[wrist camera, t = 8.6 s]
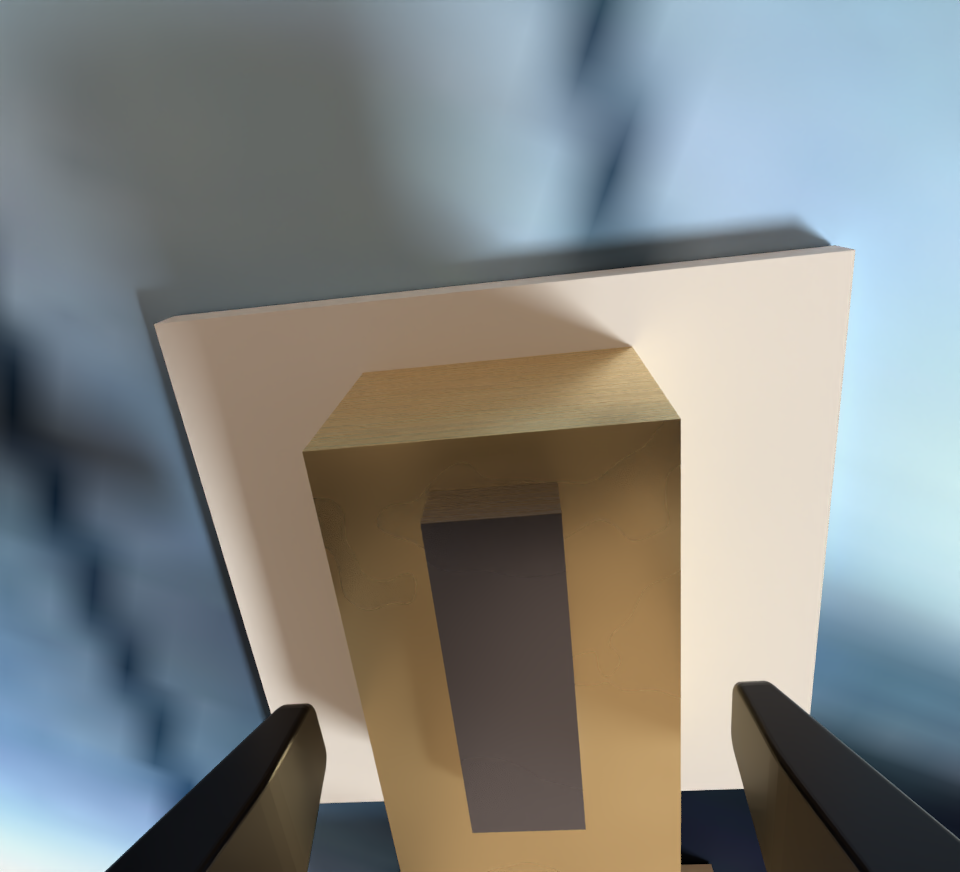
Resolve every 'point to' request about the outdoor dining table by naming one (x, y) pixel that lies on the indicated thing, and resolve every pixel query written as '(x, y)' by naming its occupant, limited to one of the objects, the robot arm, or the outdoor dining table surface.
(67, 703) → the outdoor dining table surface
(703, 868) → the plane body
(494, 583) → the tan slotted block
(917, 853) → the robot arm
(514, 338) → the mat
